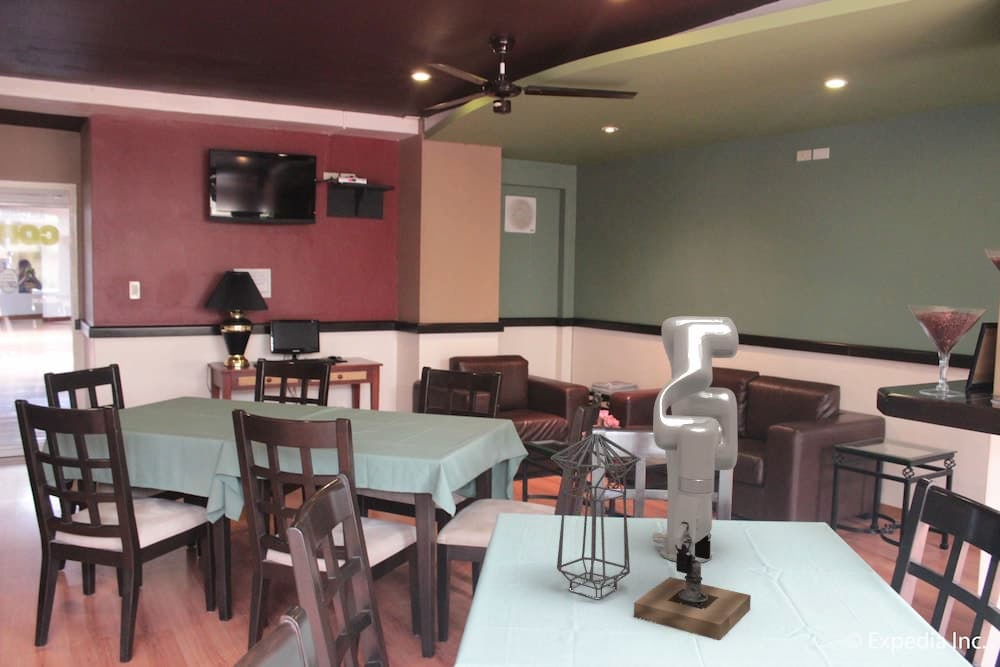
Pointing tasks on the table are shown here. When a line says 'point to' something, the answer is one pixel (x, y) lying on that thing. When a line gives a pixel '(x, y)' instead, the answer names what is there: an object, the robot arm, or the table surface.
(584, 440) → the geometric lantern
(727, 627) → the stand
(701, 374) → the robot arm
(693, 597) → the salt shaker
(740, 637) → the table surface
